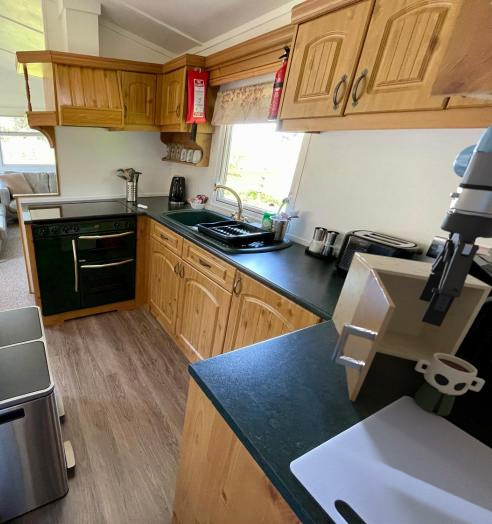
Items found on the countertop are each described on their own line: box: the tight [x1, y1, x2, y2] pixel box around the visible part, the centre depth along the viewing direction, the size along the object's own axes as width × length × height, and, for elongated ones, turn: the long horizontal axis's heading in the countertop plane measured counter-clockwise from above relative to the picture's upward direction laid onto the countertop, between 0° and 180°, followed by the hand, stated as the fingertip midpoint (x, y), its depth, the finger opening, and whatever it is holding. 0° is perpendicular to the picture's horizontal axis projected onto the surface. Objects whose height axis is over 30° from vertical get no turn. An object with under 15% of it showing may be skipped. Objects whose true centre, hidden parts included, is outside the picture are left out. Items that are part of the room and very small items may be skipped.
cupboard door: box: [330, 269, 396, 402], centre depth 76 cm, size 7×26×26 cm, turn 150°
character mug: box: [414, 353, 486, 417], centre depth 66 cm, size 11×7×13 cm, turn 55°
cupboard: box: [331, 251, 492, 362], centre depth 89 cm, size 16×26×26 cm, turn 70°
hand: (428, 311), depth 62 cm, fingers open, 13 cm apart
